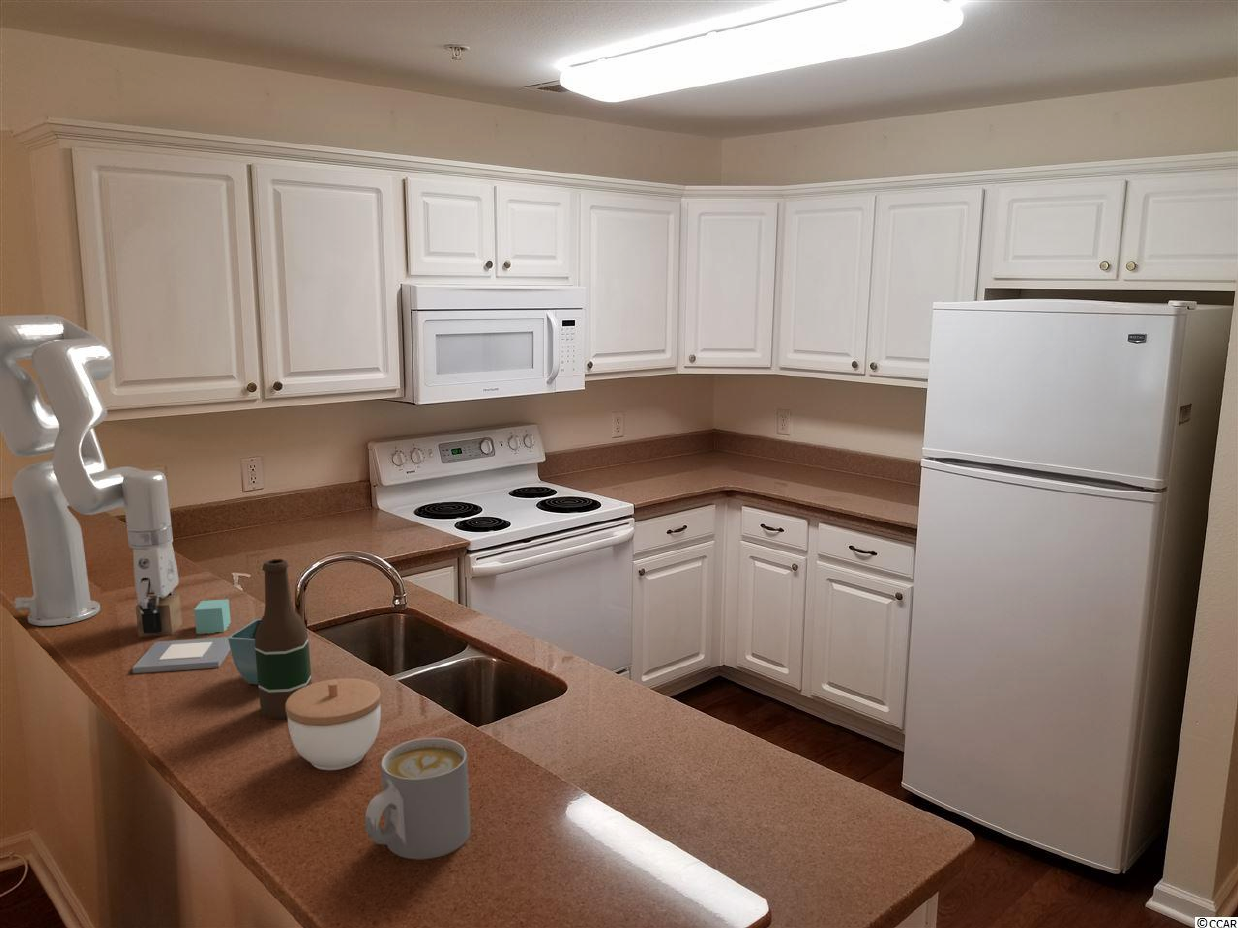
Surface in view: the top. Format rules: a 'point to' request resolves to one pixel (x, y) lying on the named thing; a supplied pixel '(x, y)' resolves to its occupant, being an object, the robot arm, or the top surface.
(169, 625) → the walnut block
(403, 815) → the coffee mug
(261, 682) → the beer bottle
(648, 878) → the top surface
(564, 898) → the top surface
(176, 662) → the pad
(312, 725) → the lidded bowl
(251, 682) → the flower pot
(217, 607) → the teal block
